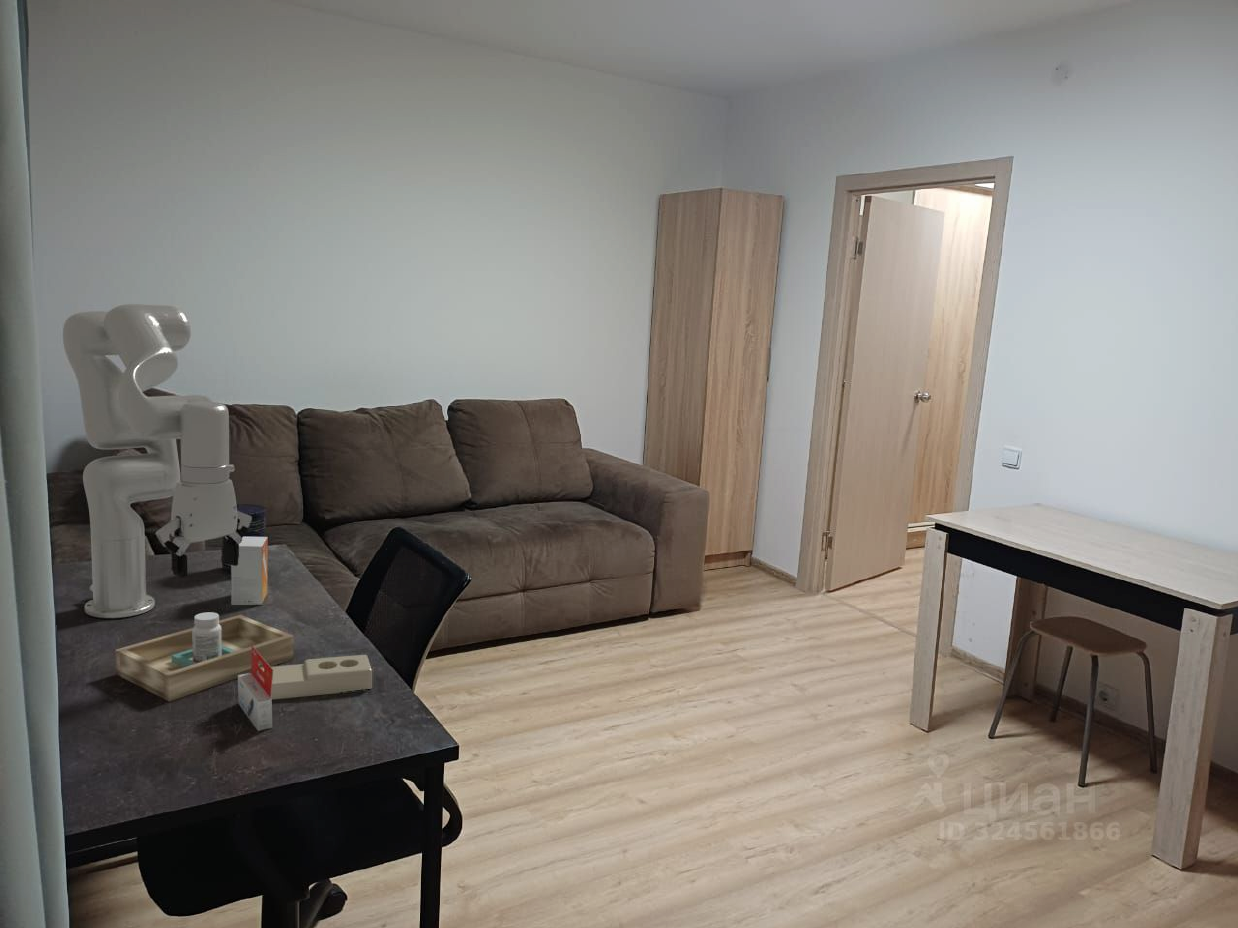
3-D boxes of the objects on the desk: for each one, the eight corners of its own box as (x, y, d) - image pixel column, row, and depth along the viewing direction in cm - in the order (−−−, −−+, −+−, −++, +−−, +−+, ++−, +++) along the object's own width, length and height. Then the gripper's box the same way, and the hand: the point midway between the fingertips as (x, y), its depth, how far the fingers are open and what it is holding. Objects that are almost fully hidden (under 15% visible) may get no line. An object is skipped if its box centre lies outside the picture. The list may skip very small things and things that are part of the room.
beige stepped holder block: (259, 662, 158) (367, 653, 165) (259, 684, 159) (366, 674, 166) (260, 679, 152) (372, 669, 158) (260, 702, 152) (372, 691, 159)
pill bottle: (198, 655, 166) (197, 610, 164) (225, 656, 166) (225, 611, 165) (188, 665, 161) (187, 619, 160) (216, 666, 162) (216, 620, 160)
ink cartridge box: (257, 731, 142) (257, 672, 140) (237, 704, 151) (236, 647, 149) (273, 728, 144) (273, 669, 142) (252, 700, 152) (252, 645, 150)
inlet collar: (171, 661, 162) (171, 655, 162) (215, 648, 169) (215, 641, 169) (199, 674, 158) (199, 668, 158) (243, 660, 165) (243, 654, 165)
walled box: (116, 674, 158) (115, 649, 157) (240, 636, 178) (240, 614, 177) (169, 701, 150) (168, 675, 149) (293, 658, 169) (293, 635, 169)
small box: (262, 605, 195) (262, 546, 193) (230, 605, 194) (230, 546, 192) (268, 593, 203) (268, 536, 201) (237, 593, 202) (237, 535, 199)
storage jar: (274, 571, 218) (274, 510, 215) (235, 579, 210) (235, 516, 208) (251, 561, 224) (251, 502, 221) (213, 569, 216) (212, 507, 214)
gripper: (237, 464, 167) (237, 555, 170) (143, 476, 152) (146, 575, 155) (262, 471, 163) (262, 564, 166) (169, 484, 148) (171, 585, 151)
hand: (206, 569), depth 161 cm, fingers open, 9 cm apart
